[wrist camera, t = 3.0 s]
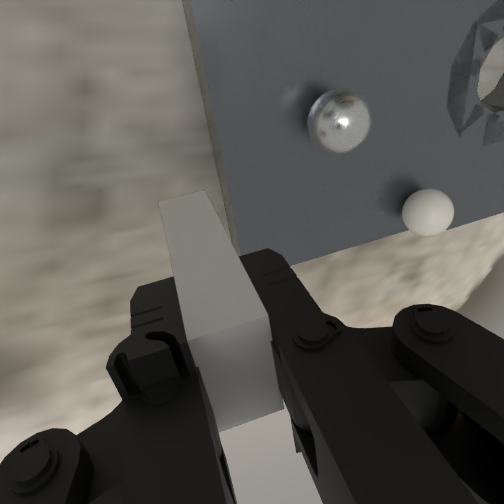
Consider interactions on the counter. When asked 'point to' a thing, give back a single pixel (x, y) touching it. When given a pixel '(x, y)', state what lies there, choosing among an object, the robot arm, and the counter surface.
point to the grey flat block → (381, 103)
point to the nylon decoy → (427, 212)
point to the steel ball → (339, 121)
